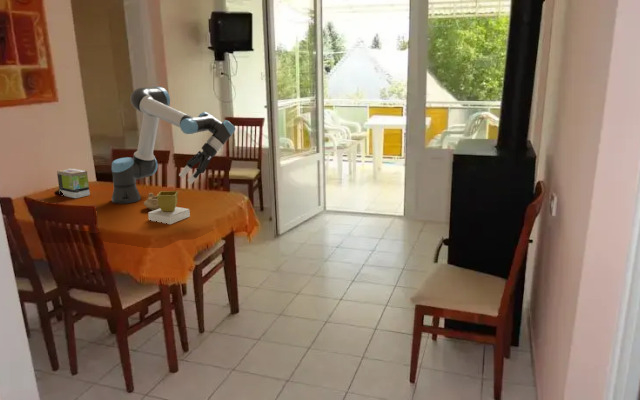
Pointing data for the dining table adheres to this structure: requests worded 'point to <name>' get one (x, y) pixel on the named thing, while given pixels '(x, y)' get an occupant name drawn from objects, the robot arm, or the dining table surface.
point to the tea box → (73, 183)
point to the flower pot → (167, 200)
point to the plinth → (169, 215)
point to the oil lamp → (152, 202)
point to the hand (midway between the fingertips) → (184, 179)
